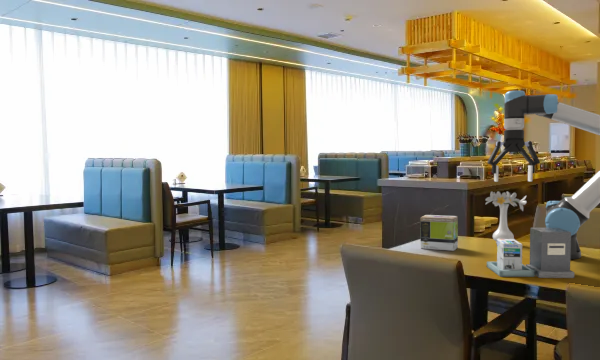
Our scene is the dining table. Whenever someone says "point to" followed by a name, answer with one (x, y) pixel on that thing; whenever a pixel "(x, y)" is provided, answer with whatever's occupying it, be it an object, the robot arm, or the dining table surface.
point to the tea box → (439, 232)
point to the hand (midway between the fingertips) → (513, 181)
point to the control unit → (550, 253)
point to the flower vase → (504, 212)
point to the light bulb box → (509, 254)
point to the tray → (511, 271)
